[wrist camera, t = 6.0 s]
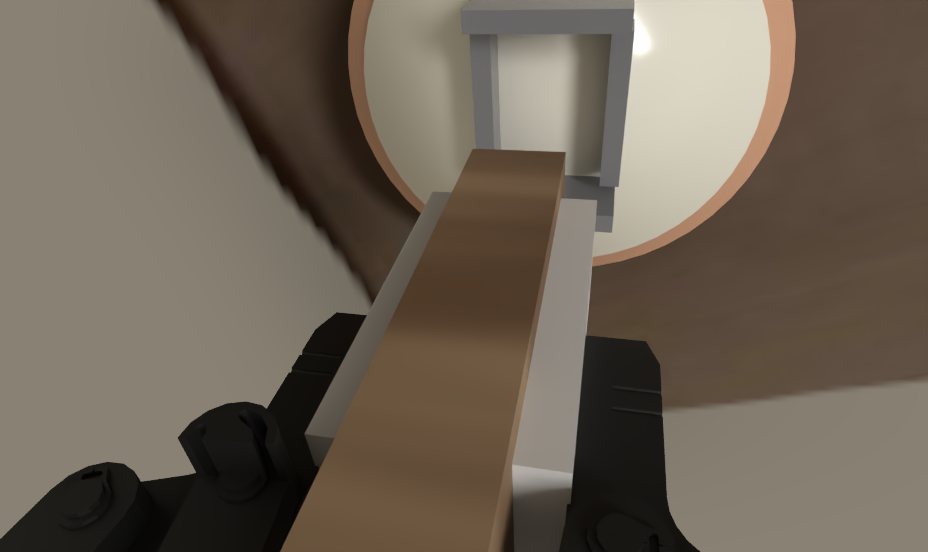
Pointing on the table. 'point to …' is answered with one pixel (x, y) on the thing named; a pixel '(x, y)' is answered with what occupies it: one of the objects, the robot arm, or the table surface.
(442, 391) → the tall wooden post
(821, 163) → the table surface
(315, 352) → the robot arm
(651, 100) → the peach disc
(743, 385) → the table surface
